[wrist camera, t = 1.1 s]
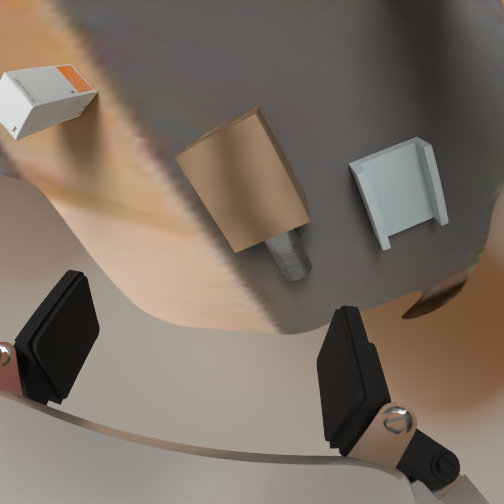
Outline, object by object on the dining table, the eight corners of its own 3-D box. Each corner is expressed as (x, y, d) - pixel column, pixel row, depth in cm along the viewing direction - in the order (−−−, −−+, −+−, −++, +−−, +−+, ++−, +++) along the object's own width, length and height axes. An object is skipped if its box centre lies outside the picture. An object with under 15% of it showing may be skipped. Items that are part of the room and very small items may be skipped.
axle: (216, 144, 31) (204, 155, 29) (245, 129, 30) (236, 139, 27) (286, 265, 39) (282, 284, 36) (312, 257, 38) (310, 276, 35)
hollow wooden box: (259, 105, 30) (255, 114, 24) (304, 191, 35) (310, 221, 29) (194, 139, 32) (175, 157, 26) (242, 219, 37) (235, 252, 31)
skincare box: (99, 91, 29) (34, 108, 19) (79, 117, 31) (15, 143, 21) (71, 61, 27) (3, 71, 17) (53, 87, 29) (-14, 106, 19)
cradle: (416, 136, 30) (431, 144, 27) (435, 209, 35) (448, 222, 31) (348, 163, 33) (356, 174, 30) (374, 234, 37) (383, 250, 34)
